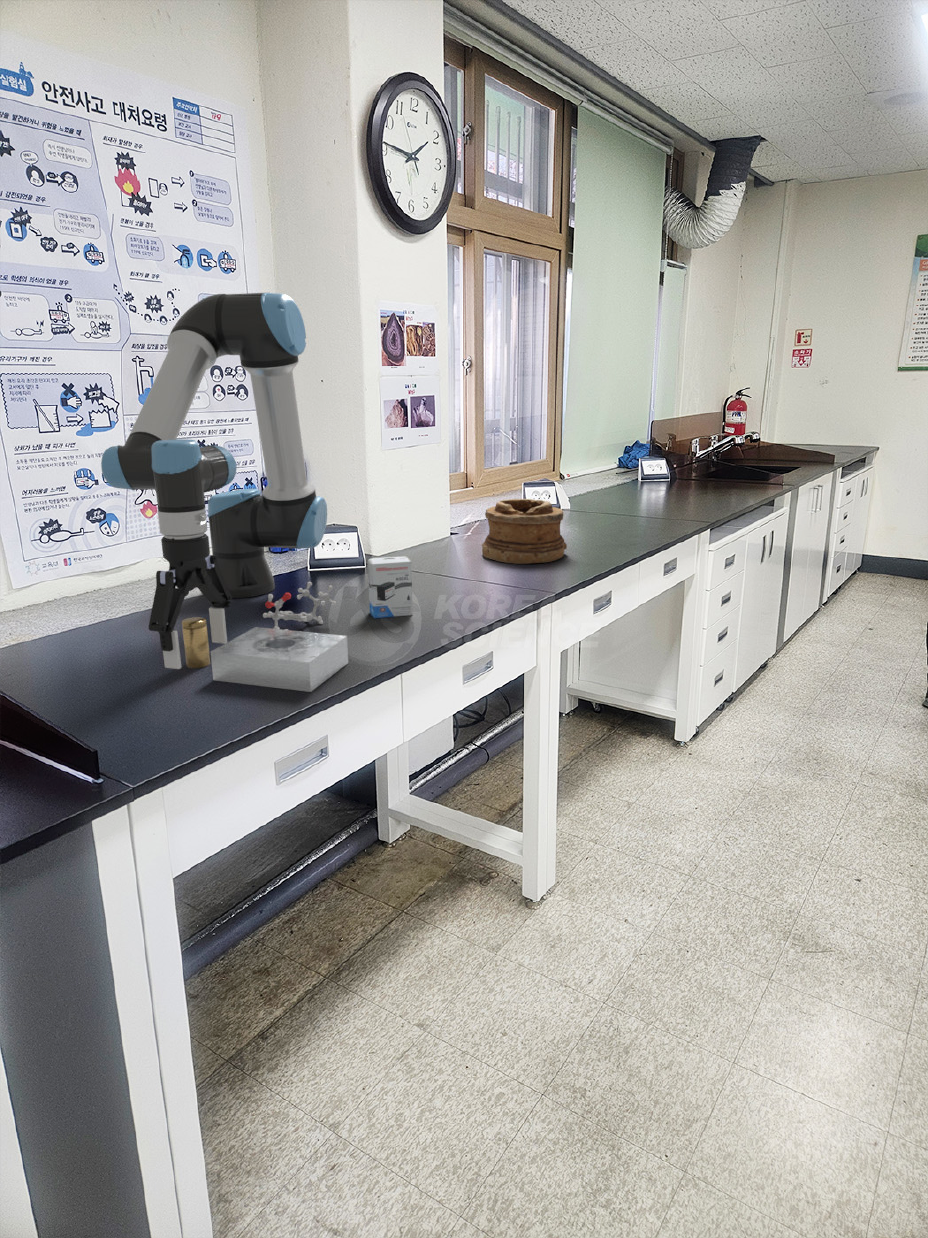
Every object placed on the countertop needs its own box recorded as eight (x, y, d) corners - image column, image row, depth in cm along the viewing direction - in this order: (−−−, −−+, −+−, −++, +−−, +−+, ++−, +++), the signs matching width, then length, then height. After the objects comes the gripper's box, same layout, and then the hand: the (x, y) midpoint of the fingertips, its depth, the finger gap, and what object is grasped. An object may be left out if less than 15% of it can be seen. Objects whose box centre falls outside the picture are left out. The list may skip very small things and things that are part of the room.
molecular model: (308, 616, 169) (309, 570, 166) (345, 626, 164) (347, 579, 161) (238, 637, 154) (237, 586, 151) (277, 649, 149) (277, 597, 146)
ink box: (373, 619, 166) (371, 563, 163) (369, 612, 171) (367, 558, 167) (413, 615, 168) (412, 560, 165) (408, 609, 173) (407, 555, 169)
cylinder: (181, 666, 139) (176, 622, 137) (195, 659, 143) (190, 616, 141) (201, 669, 138) (196, 624, 136) (215, 661, 142) (210, 618, 140)
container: (564, 566, 211) (566, 509, 206) (475, 563, 214) (475, 507, 210) (567, 548, 232) (569, 496, 228) (486, 546, 236) (486, 495, 231)
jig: (213, 680, 133) (210, 651, 132) (257, 653, 146) (255, 626, 145) (311, 692, 128) (309, 662, 127) (348, 662, 141) (346, 635, 140)
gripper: (155, 551, 122) (171, 682, 128) (244, 522, 144) (254, 634, 151) (114, 548, 124) (131, 677, 130) (208, 520, 146) (219, 631, 153)
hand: (197, 654), depth 140 cm, fingers open, 13 cm apart
